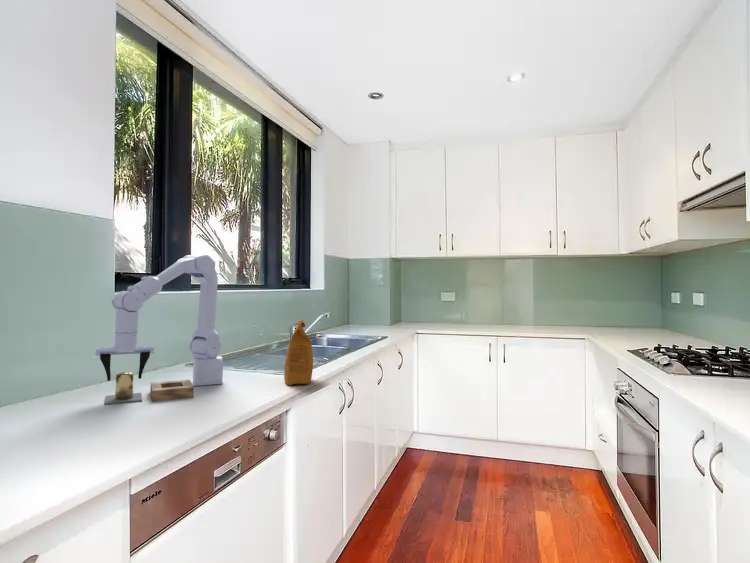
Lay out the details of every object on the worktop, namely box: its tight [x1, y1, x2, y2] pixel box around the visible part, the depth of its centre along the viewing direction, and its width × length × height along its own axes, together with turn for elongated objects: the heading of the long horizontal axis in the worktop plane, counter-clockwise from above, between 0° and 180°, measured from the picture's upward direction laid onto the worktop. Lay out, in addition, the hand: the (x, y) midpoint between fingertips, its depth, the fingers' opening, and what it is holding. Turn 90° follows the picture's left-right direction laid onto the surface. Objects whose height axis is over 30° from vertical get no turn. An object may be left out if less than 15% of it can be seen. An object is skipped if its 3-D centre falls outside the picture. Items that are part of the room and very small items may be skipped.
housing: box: [149, 379, 195, 402], centre depth 127 cm, size 11×11×3 cm
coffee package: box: [283, 319, 314, 386], centre depth 149 cm, size 10×12×22 cm
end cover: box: [114, 371, 135, 400], centre depth 121 cm, size 4×4×7 cm
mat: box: [104, 392, 143, 406], centre depth 121 cm, size 9×9×1 cm
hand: (124, 379), depth 121 cm, fingers open, 7 cm apart
